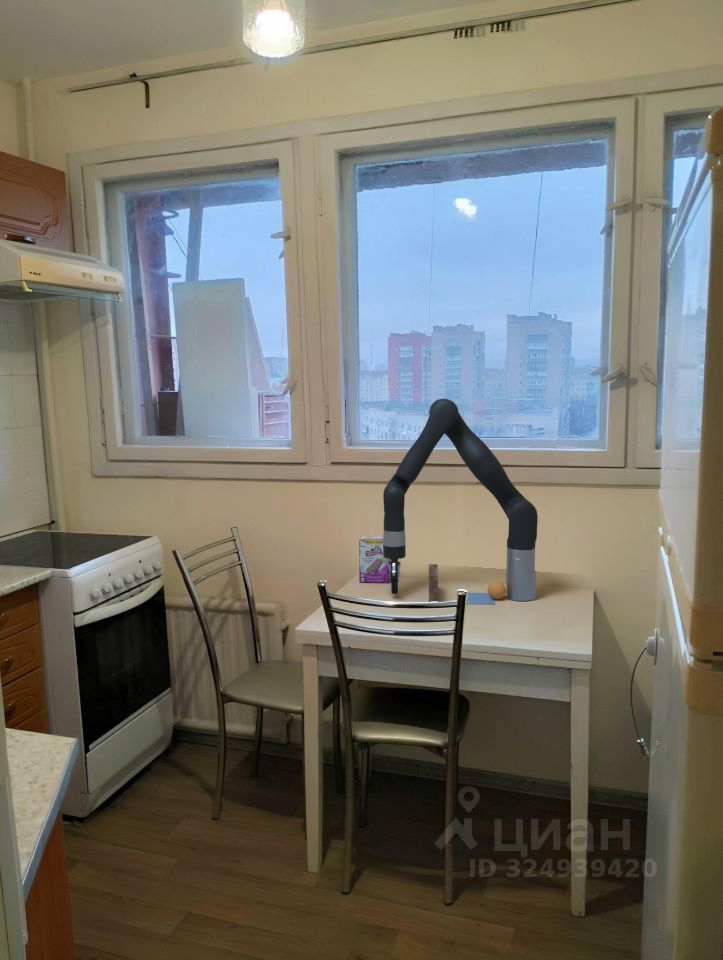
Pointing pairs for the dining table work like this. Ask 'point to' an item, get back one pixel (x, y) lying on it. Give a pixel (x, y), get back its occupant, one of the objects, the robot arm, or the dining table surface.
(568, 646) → the dining table surface
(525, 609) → the dining table surface
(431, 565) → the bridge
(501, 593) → the ball
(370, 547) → the candy bar box
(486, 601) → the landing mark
